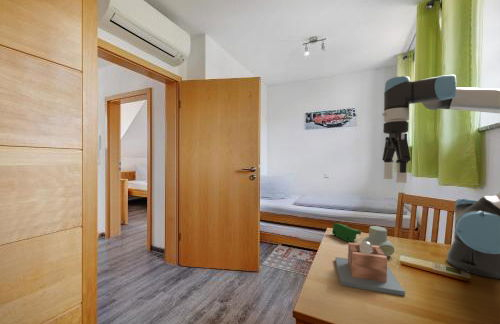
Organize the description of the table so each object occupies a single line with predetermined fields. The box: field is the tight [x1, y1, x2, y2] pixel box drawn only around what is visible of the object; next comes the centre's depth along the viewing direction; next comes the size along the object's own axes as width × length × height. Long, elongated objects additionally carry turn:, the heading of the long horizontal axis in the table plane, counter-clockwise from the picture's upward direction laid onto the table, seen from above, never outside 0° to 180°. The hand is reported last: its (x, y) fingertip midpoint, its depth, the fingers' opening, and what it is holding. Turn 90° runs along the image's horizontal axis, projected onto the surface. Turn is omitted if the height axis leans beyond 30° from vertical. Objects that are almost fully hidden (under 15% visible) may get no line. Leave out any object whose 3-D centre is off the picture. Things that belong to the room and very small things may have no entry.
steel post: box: [359, 241, 372, 254], centre depth 68 cm, size 4×4×10 cm
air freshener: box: [361, 225, 396, 258], centre depth 84 cm, size 11×8×10 cm
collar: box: [347, 242, 388, 282], centre depth 68 cm, size 9×9×7 cm
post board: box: [335, 257, 406, 297], centre depth 69 cm, size 16×16×1 cm
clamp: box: [332, 222, 362, 243], centre depth 101 cm, size 12×6×9 cm, turn 14°
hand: (394, 180), depth 80 cm, fingers open, 13 cm apart
